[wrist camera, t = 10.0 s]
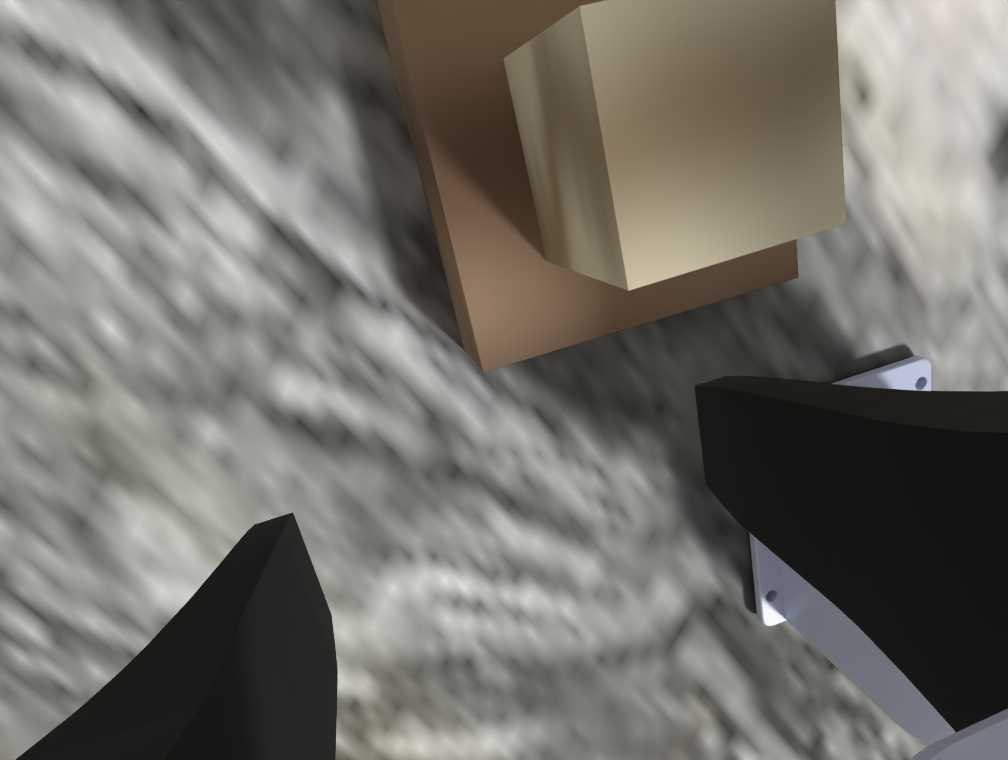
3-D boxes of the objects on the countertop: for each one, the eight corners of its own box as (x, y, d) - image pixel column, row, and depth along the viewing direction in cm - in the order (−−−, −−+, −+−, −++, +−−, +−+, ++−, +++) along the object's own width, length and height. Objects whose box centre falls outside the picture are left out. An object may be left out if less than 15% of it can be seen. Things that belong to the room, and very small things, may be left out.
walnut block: (738, 265, 22) (798, 277, 19) (461, 346, 20) (483, 372, 18) (707, -71, 19) (774, -114, 16) (371, -9, 17) (380, -46, 14)
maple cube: (712, 212, 18) (846, 223, 13) (546, 261, 17) (628, 290, 13) (689, 15, 16) (833, -51, 12) (503, 58, 15) (579, 6, 11)
